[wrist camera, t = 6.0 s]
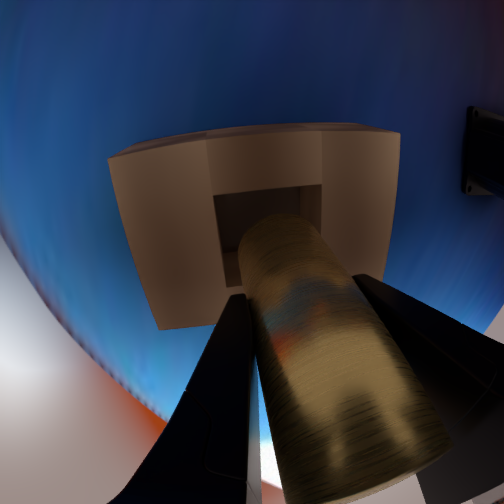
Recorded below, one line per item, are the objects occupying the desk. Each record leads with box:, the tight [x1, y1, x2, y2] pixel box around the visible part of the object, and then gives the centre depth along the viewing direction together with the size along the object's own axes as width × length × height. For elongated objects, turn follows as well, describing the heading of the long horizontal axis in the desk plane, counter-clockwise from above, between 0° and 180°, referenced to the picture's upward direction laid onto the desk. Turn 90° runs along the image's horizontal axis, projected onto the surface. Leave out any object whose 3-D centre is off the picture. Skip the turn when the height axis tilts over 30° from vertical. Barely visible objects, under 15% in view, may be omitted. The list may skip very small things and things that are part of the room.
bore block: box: [108, 122, 400, 330], centre depth 13 cm, size 11×8×4 cm
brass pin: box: [238, 213, 454, 504], centre depth 6 cm, size 3×3×8 cm
